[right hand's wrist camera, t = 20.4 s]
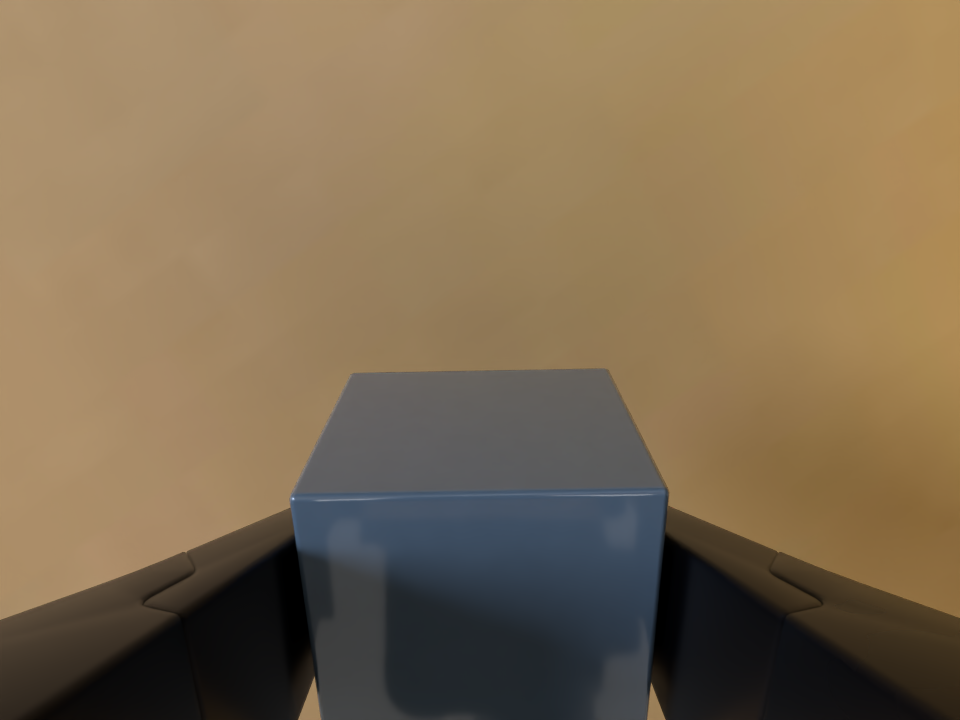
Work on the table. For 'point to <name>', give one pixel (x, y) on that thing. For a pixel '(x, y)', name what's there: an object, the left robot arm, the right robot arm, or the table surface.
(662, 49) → the table surface
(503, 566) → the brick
